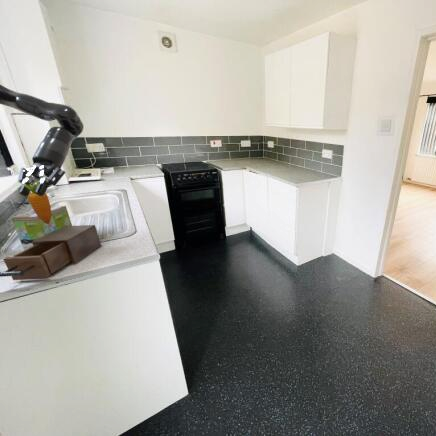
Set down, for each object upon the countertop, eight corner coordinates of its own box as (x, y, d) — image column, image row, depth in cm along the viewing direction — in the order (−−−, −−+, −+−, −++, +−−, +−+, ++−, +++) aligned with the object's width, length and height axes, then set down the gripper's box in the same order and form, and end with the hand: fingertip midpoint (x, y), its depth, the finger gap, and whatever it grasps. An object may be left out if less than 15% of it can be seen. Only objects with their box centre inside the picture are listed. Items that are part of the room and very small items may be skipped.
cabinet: (75, 264, 89) (66, 240, 85) (41, 265, 88) (31, 241, 85) (101, 246, 102) (95, 224, 99) (72, 247, 102) (64, 226, 98)
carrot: (35, 227, 83) (18, 184, 78) (42, 222, 87) (26, 181, 82) (54, 225, 85) (38, 182, 80) (59, 220, 89) (45, 179, 84)
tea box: (52, 250, 100) (38, 215, 94) (23, 252, 98) (8, 217, 93) (76, 235, 113) (66, 204, 108) (52, 236, 112) (40, 206, 107)
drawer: (33, 287, 74) (23, 265, 71) (-4, 289, 73) (-15, 267, 70) (78, 258, 91) (72, 239, 88) (49, 259, 90) (41, 240, 88)
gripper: (79, 160, 91) (62, 200, 84) (41, 160, 91) (20, 200, 84) (62, 146, 84) (41, 188, 77) (21, 146, 84) (-4, 189, 77)
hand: (30, 194), depth 81 cm, fingers closed on carrot, 4 cm apart
